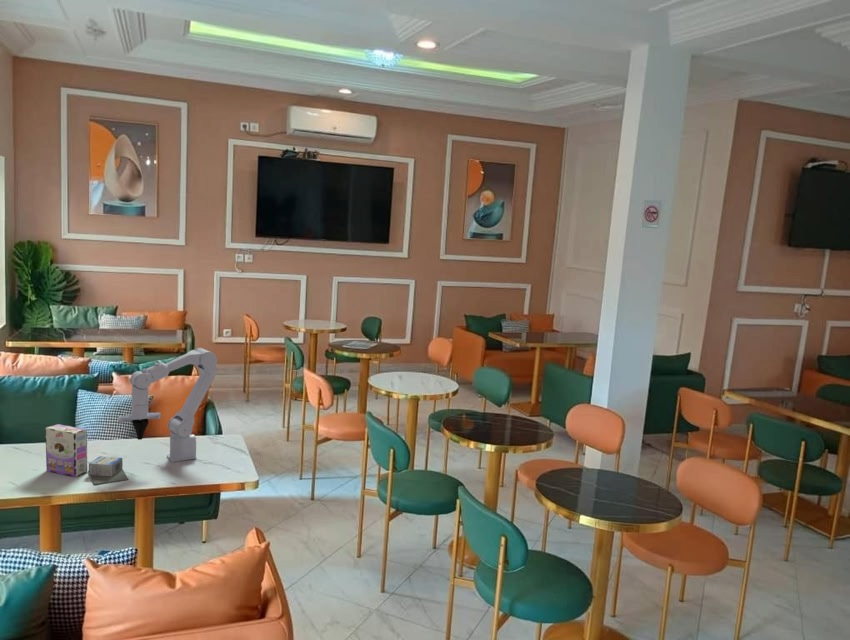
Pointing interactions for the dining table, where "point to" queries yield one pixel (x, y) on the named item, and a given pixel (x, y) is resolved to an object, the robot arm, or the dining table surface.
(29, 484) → the dining table surface
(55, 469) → the candy box
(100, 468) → the medicine box
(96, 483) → the mat
